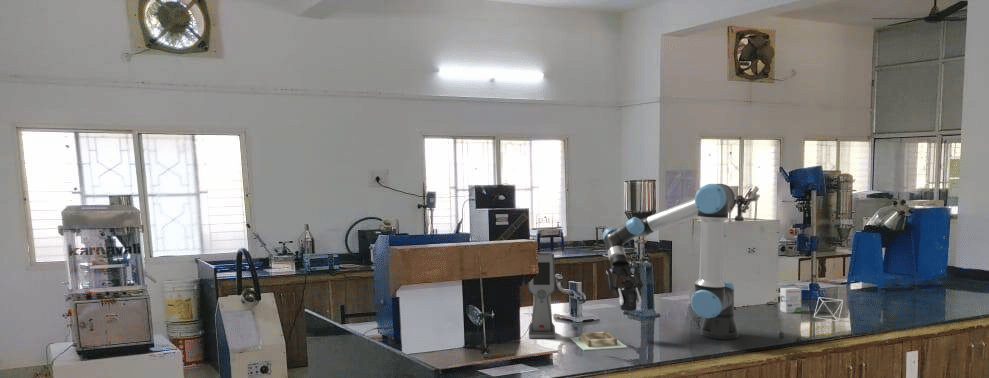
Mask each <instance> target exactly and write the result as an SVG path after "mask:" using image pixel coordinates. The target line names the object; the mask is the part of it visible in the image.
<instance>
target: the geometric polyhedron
mask: <svg viewBox="0 0 989 378" xmlns="http://www.w3.org/2000/svg"><path fill="white" fill-rule="evenodd" d="M822 299H824V296H823V297H822V296H818V299H817V304H816V307H815V311H814V314H813V319H814V318H816V319H818V316H816V315H817V314H818V312H819V310H820V309H821V307H822V305H823V304H824V306H825V307H826V309H827V310H828V311H829V313H831V316H832V317H834V319H835V320H834V319H833V321H835V322H839V321H840V317H841V313H842V308H843V304H844V300H843V299H836V298H833V301H836V302H841V303H840V304H839V306H838V308H837V309H836V311H835V312H834V313H833V312H832V310H831V309H830V308H829V307H828V305H827V304H826V303H827V302H829V303H830V302H831V298H830V297H825V299H826V300H822ZM827 299H829V300H827ZM819 300H820V301H821V304H820V306H819V307H818V304H819ZM817 308H818V309H817ZM839 309H840V311H839V315H838V317H836V313H837V312H838V310H839ZM825 317H828V318H826V321H827V320H828V321H831V319H829V317H830V315H826V316H821V317H820V319H823V320H825ZM837 318H838V319H837Z"/></svg>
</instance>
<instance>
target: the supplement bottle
mask: <svg viewBox="0 0 989 378" xmlns="http://www.w3.org/2000/svg"><path fill="white" fill-rule="evenodd" d="M633 286H634V284H633V281H631V280H628V279H625V280H621V287H619V288H620V290H621V293H622V297H623V301H624V302H623V305H620V304H619V307H620V308H619V310H621V311H624V312H632V311H633V312H634V311H636V310H637V308H638V307H637V306H638V303H637V299H636V289H635V288H634V287H633Z"/></svg>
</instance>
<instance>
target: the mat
mask: <svg viewBox="0 0 989 378" xmlns="http://www.w3.org/2000/svg"><path fill="white" fill-rule="evenodd" d="M569 338H570V340H571V341H572V343H573V342H574V343H575V344H576V345H577V346H578V347H579V348H580V349H581V350H583V351H595V350H596V351H597V350H600V351H601V350H611V349H612V350H613V349H628V346H627V345H625V344H624V343H622V342H621V341H620V340H618V339H617V345H612V346H596V347H588V346H587V345H586V344H585V343H583V342H582V341H581V340H580V339H579V336H577V337H576V336H575V337H569ZM604 339H605V338H604ZM590 340H594V339H590Z"/></svg>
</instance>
